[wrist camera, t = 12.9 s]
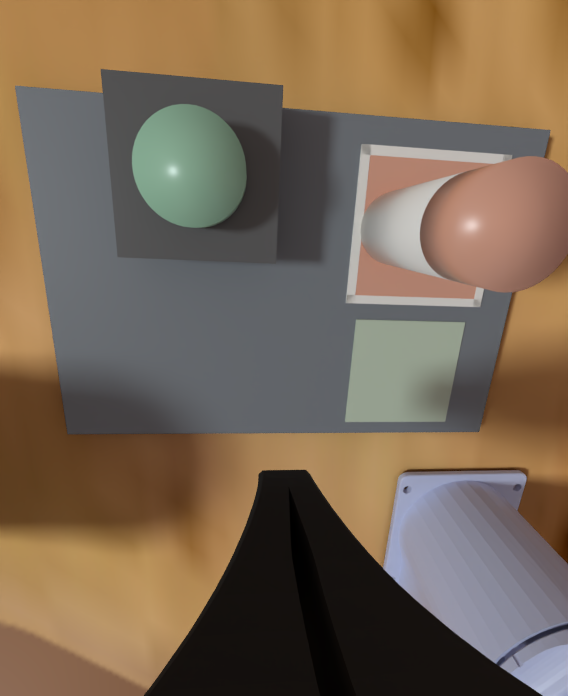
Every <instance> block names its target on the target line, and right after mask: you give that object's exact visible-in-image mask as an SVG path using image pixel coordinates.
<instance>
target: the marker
mask: <svg viewBox="0 0 568 696" xmlns="http://www.w3.org/2000/svg"><path fill="white" fill-rule="evenodd" d="M360 234H361V241H362V244H363V246H364V248H365V250H366V252H367V253H368V254H369V255H370V256H371V257H372V258H373V259H374V260H376V261H378V262H380V263H383V264H386V265H390V266H394V267H398V268H402V269H406V270H410V271H415V272H419V273H423V274H427V275H431V276H435V277H439V278H443V279H447V280H451V281H455V282H459V283H463V284H467V285H471V286H475V287H479V288H483V289H487V290H491V291H495V292H503V293H505V292H516V291H521V290H524V289H527V288H529V287H532V286H534V285H536V284H537V283H539V282H541V281H542V280H544V279H545V278H546V277H548V276H549V275H550V274H551V273H552V272H553V271H554V270H555V269H556V268H557V267H558V266H559V265H560V264H561V262H562V261H563V260H564V258H565V257H566V255H567V254H568V173H567V172H566V170H565V169H564V168H562V167H561V166H560V165H559V164H557V163H555V162H554V161H552V160H549V159H546V158H543V157H537V156H525V157H518V158H515V159H511V160H507V161H503V162H500V163H496V164H492V165H488V166H485V167H481V168H477V169H473V170H470V171H466V172H462V173H458V174H455V175H451V176H447V177H444V178H440V179H436V180H432V181H429V182H425V183H421V184H417V185H414V186H410V187H406V188H402V189H399V190H395V191H391V192H388V193H385V194H383V195H381V196H379V197H378V198H376V199H375V200H374V201H373V202H372V203H371V204H370V205H369V207H368V208H367V210H366V211H365V213H364V216H363V218H362V222H361V229H360Z"/></svg>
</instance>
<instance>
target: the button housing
mask: <svg viewBox="0 0 568 696" xmlns="http://www.w3.org/2000/svg"><path fill="white" fill-rule="evenodd" d="M101 77H102V88H103V99H104V111H105V122H106V133H107V144H108V156H109V167H110V178H111V189H112V201H113V212H114V223H115V234H116V246H117V257H122V258H146V259H171V260H196V261H220V262H245V263H270V264H276V254H277V229H278V203H279V178H280V153H281V127H282V102H283V85H273V84H262V83H251V82H239V81H228V80H217V79H206V78H194V77H183V76H172V75H161V74H150V73H138V72H127V71H116V70H105V69H101ZM177 104H191V105H197V106H200V107H203V108H206V109H208V110H210V111H212V112H213V113H215V114H217V115H218V116H219V117H220V118H222V119H223V120H224V121H225V122H226V123H227V124H228V125H229V126H230V127H231V129H232V130H233V131H234V133H235V134H236V136H237V138H238V140H239V142H240V144H241V146H242V149H243V152H244V156H245V162H246V175H247V180H246V188H245V193H244V196H243V199H242V201H241V203H240V205H239V206H238V208H237V209H236V211H235V212H234V213H233V214H232V215H231V216H230V217H229V218H227V219H226V220H224V221H223V222H221V223H219V224H217V225H214V226H211V227H205V228H191V227H183V226H179V225H176V224H174V223H171V222H169V221H167V220H165V219H164V218H162V217H161V216H159V215H158V214H157V213H156V212H155V211H154V210H152V209H151V207H150V206H149V205H148V204H147V203H146V201H145V200H144V198H143V197H142V195H141V193H140V191H139V190H138V187H137V185H136V182H135V179H134V175H133V169H132V152H133V146H134V142H135V139H136V137H137V134H138V132H139V130H140V129H141V127H142V126H143V124H144V123H145V122H146V120H147V119H149V118H150V117H151V116H152V115H153V114H154V113H156V112H157V111H159V110H161V109H163V108H165V107H168V106H171V105H177Z"/></svg>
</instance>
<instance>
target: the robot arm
mask: <svg viewBox="0 0 568 696" xmlns="http://www.w3.org/2000/svg"><path fill="white" fill-rule="evenodd" d="M526 480H527V477H526V475H525V474H524V473H523V472H521V471H520V470H493V471H434V472H404V473H403V474H401V475H400V476H399V478H398V483H397V489H396V495H395V501H394V507H393V513H392V519H391V525H390V531H389V536H388V542H387V548H386V554H385V560H384V566H383V568H382V567H381V566H380V565H379V564H378V563H377V562H376V560H375V559H374V558H373V557H372V556H371V555H370V554H369V553H368V552H367V550H366V549H365V548H364V547H363V546H362V545H361V544H360V542H359V541H358V540H357V539H356V538H355V537H354V535H353V534H352V533H351V532H350V530H349V529H348V528H347V527H346V525H345V524H344V523H343V521H342V520H341V519H340V518H339V516H338V515H337V514H336V512H335V511H334V510H333V508H332V507H331V506H330V504H329V503H328V501H327V500H326V498H325V497H324V496H323V494H322V493H321V491H320V490H319V488H318V487H317V485H316V483H315V482H314V480H313V479H312V477H311V475H310V474H309V473H308V472H307V471H306V470H267V471H262V472H261V473H259V479H258V488H257V492H256V496H255V500H254V503H253V506H252V509H251V512H250V515H249V518H248V521H247V524H246V526H245V529H244V531H243V533H242V536H241V538H240V540H239V543H238V545H237V547H236V549H235V552H234V554H233V556H232V558H231V560H230V562H229V564H228V566H227V568H226V570H225V572H224V574H223V576H222V578H221V580H220V581H219V583H218V585H217V587H216V589H215V591H214V592H213V594H212V596H211V597H210V599H209V601H208V602H207V604H206V606H205V607H204V609H203V611H202V613H201V614H200V616H199V617H198V619H197V621H196V622H195V624H194V625H193V627H192V628H191V630H190V632H189V633H188V635H187V636H186V638H185V639H184V640H183V642H182V643H181V645H180V646H179V648H178V649H177V650H176V652H175V653H174V655H173V656H172V658H171V659H170V660H169V662H168V663H167V665H166V666H165V668H164V669H163V670H162V672H161V673H160V675H159V676H158V678H157V679H156V680H155V682H154V683H153V684H152V686H151V687H150V688H149V690H148V691H147V692H146V693H145V695H144V696H568V564H567V563H566V562H565V561H564V560H563V558H562V557H561V556H560V555H559V554H558V553H557V552H556V551H555V550H554V549H553V548H552V547H551V546H550V545H549V544H548V543H547V542H546V541H545V540H544V539H543V537H542V536H541V535H540V534H539V533H538V532H537V531H536V530H535V529H534V528H533V527H532V526H531V525H530V524H529V523H528V522H527V521H526V520H525V519H524V518H523V516H522V515H521V514H520V513H519V512H518V507H519V504H520V500H521V497H522V494H523V490H524V487H525V483H526ZM407 486H408V488H406V489H404V488H405V487H407Z"/></svg>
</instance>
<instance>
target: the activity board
mask: <svg viewBox="0 0 568 696" xmlns="http://www.w3.org/2000/svg"><path fill="white" fill-rule="evenodd" d="M15 89H16V96H17V102H18V109H19V116H20V122H21V129H22V135H23V142H24V149H25V155H26V162H27V169H28V175H29V182H30V188H31V195H32V202H33V208H34V215H35V222H36V228H37V235H38V241H39V248H40V255H41V261H42V268H43V275H44V281H45V288H46V294H47V301H48V308H49V314H50V321H51V328H52V334H53V341H54V347H55V354H56V361H57V367H58V374H59V381H60V387H61V394H62V400H63V407H64V414H65V420H66V427H67V434H192V433H367V432H479V430H480V426H481V422H482V418H483V413H484V409H485V405H486V401H487V397H488V392H489V388H490V384H491V380H492V375H493V371H494V367H495V363H496V359H497V354H498V350H499V346H500V342H501V337H502V333H503V329H504V325H505V321H506V316H507V312H508V308H509V304H510V300H511V295H512V292H505V293H503V292H495V291H491V290H487V289H483V288H479V287H475V286H471V285H467V284H463V283H459V282H455V281H451V280H447V279H443V278H439V277H435V276H431V275H427V274H423V273H419V272H415V271H410V270H406V269H402V268H398V267H394V266H390V265H386V264H383V263H380V262H378V261H376V260H374V259H373V258H372V257H371V256H370V255H369V254H368V253H367V252H366V250H365V248H364V246H363V244H362V241H361V234H360V229H361V222H362V218H363V216H364V213H365V211H366V210H367V208H368V207H369V205H370V204H371V203H372V202H373V201H374V200H375V199H376V198H378V197H379V196H381V195H383V194H385V193H388V192H391V191H395V190H399V189H402V188H406V187H410V186H414V185H417V184H421V183H425V182H429V181H432V180H436V179H440V178H444V177H447V176H451V175H455V174H458V173H462V172H466V171H470V170H473V169H477V168H481V167H485V166H488V165H492V164H496V163H500V162H503V161H507V160H511V159H515V158H518V157H525V156H537V157H543V158H544V156H545V152H546V148H547V143H548V139H549V135H550V131H551V130H542V129H530V128H518V127H506V126H493V125H481V124H469V123H457V122H445V121H433V120H421V119H409V118H397V117H385V116H373V115H361V114H349V113H337V112H325V111H313V110H301V109H289V108H282V127H281V153H280V178H279V203H278V229H277V254H276V264H270V263H245V262H220V261H196V260H171V259H146V258H122V257H117V246H116V234H115V223H114V212H113V201H112V189H111V178H110V167H109V156H108V144H107V133H106V122H105V111H104V99H103V93H96V92H84V91H72V90H60V89H48V88H36V87H24V86H15Z"/></svg>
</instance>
